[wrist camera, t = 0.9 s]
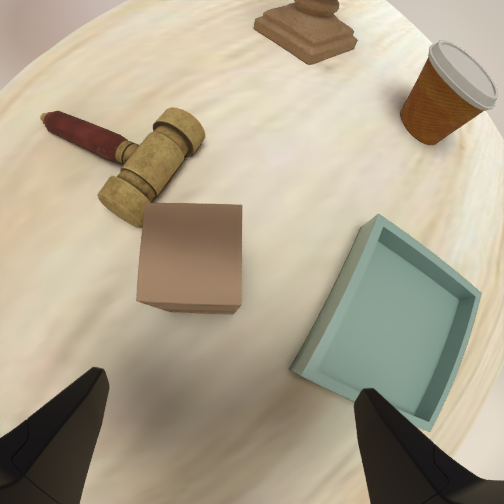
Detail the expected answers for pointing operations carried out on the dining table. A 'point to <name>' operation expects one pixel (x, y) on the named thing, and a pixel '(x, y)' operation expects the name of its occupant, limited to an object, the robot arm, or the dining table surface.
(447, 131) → the disposable coffee cup
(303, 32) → the candle holder
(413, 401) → the box
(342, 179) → the dining table surface
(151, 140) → the gavel
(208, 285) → the walnut block
